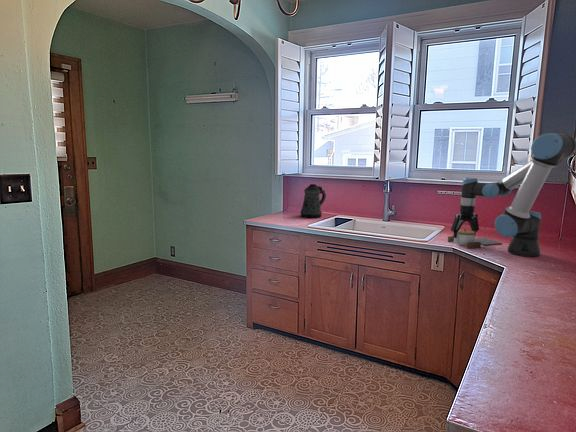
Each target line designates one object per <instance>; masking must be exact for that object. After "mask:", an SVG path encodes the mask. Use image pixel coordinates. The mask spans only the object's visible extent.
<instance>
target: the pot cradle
mask: <svg viewBox="0 0 576 432" xmlns="http://www.w3.org/2000/svg"><path fill="white" fill-rule="evenodd" d="M447 242H448V243H451V242H452V243H454V237H453V235H452V236H450V235H449V236H447ZM481 247H482V245H481V242H470V243H467V246H466V249H469V250H470V249H480V248H481Z"/></svg>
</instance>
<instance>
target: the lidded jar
mask: <svg viewBox="0 0 576 432" xmlns="http://www.w3.org/2000/svg"><path fill="white" fill-rule="evenodd" d="M458 233H459V238H458V244H457V245H459V246H463V247H467V243H470V242H473V240H474V239H475V238H474V236H475V237H476V235H475V232H474V231H472V229H471V230H469V229H467V228H462V229H461V228H460V229H459V231H458Z"/></svg>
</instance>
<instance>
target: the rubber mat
mask: <svg viewBox="0 0 576 432" xmlns="http://www.w3.org/2000/svg"><path fill="white" fill-rule="evenodd" d="M474 242H481V246H483V247H484V246H486V247H487V246H495V245H497V246H498V245H502V244H503V243H502V242H500V241H496V240H492V239H490V238H487V237H480V238H474Z"/></svg>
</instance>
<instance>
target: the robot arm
mask: <svg viewBox="0 0 576 432" xmlns="http://www.w3.org/2000/svg"><path fill="white" fill-rule="evenodd" d="M575 149H576V139H575V137H573V136H572V135H570V134H567V133H555V132H548V133H543V134H540V135H538V136H537V137H536V138H534V140H533V141H532V143H531V146H530V151H531V155H530V160H529V161H528V162H527V163H525V164H523V165H522V166H521V167H519V168H517V169H516V170H514V171H513V172H511V173H510V174H508V175H506V176H505V177H504V178H502V179H501V180H499V181H497V182H480V181H478V178H477V177H463V179H462V184H461V197H460V205H459V211H460V213H459V214H457V213H456V214H455V217H454V220H453V223H452V226H451V228H450V231H451V232H452V233H453V235H452V236H453V237H454V242H453V243H454V244H456V245H459V244H458V238H459V233H458V231H459V229H461V227H462V226H463V224H464V223H465V222H468V224H469V226H470V229H471V231H474V232H475V236H474V239H476V238H475V237H476V234H477V233H476V232H478V231H480V226H479V218H478V216H479V214H478V213H474V212H475V210H476V209H475V207H476V206H475V205H476V198H477V196H478V197H483V198H487V199H488V198H492V199H493V198H495V197H504V196H508V195H509V194H510V195H511V192H512V190H514V189H516V188H517V187H519V188H518V190H517V192H516V194H515V195H514V198H513V200H512V202H511V205H509V206H506V207H505V209H504V210H503V213H502V214H500V215H498V216H497V217H496V218H495V220H494V229H495V231H496V232H497V233H498V235H500V236H502V237H504V238H512V239H511V240H510V242H509V245H508V246H507V252H508V254H509V253H510V254H512V255H516V256H520V255H523V256H522V257H527V256H537V257H539V255H540V256H541V248H540V244H539V238H540V237H539V236H540V229H541V222H542V214H541V212H539V211H538V212H537V211H532V210H531V209H532V207H533V205H534V203H535V201H536V199H537V197H538V195H539V193H540V192H541V189H542V188H543V185H544V184H545V182H546V181H547V178H548V176H549V174H550V173H551V171H552V169H554V168H556V167H558V166H559V164H561V163H562V162H563V161H565V160H568V159H569V158H570V157H572V156H573V155H574V154H575V152H576V151H575ZM574 151H575V152H574ZM573 153H574V154H573ZM530 210H531V211H530ZM473 242H474V240H473Z"/></svg>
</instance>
